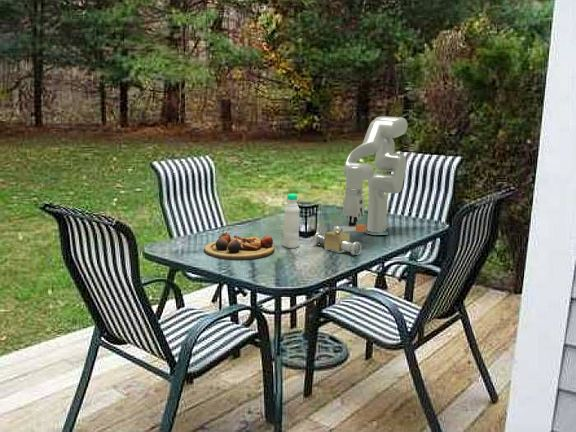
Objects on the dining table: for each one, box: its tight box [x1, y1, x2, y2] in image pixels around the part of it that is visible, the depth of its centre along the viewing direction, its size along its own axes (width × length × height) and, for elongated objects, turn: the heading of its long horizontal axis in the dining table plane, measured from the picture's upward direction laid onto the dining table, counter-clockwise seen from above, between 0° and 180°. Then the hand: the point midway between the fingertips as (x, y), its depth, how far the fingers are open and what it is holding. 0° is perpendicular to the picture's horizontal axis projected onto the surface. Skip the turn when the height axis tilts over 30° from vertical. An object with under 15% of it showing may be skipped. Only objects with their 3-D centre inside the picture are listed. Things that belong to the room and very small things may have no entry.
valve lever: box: [333, 223, 367, 233], centre depth 289 cm, size 16×4×3 cm, turn 109°
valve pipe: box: [312, 230, 363, 255], centre depth 288 cm, size 7×24×9 cm, turn 44°
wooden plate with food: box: [203, 231, 276, 261], centre depth 284 cm, size 32×32×8 cm
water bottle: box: [283, 193, 301, 249], centre depth 290 cm, size 7×7×25 cm
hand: (352, 230), depth 294 cm, fingers closed
